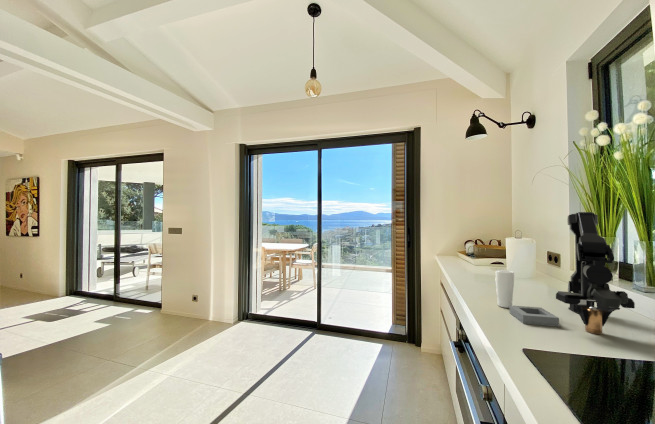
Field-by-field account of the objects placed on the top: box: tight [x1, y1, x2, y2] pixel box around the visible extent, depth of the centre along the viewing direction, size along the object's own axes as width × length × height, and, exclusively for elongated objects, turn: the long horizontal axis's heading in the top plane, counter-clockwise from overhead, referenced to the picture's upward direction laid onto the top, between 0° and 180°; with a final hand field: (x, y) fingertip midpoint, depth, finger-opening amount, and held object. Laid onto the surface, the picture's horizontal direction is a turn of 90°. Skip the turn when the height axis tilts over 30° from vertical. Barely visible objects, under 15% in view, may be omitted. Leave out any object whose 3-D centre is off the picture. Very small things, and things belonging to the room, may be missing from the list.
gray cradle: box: [509, 304, 560, 328], centre depth 99 cm, size 11×11×3 cm
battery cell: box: [584, 306, 603, 335], centre depth 88 cm, size 4×4×8 cm
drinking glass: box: [494, 269, 515, 309], centre depth 114 cm, size 7×7×15 cm
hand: (593, 325), depth 88 cm, fingers closed on battery cell, 4 cm apart
